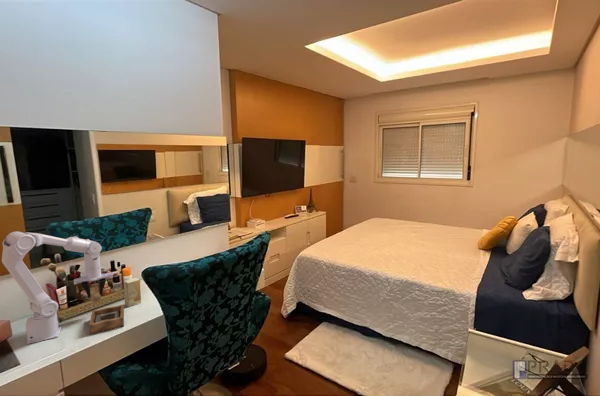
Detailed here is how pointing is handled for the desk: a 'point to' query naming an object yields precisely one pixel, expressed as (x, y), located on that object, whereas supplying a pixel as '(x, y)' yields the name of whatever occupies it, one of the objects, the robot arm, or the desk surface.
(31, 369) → the desk surface
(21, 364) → the desk surface
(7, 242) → the robot arm
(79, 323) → the desk surface
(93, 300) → the maple peg
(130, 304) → the skincare box
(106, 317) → the socket box
